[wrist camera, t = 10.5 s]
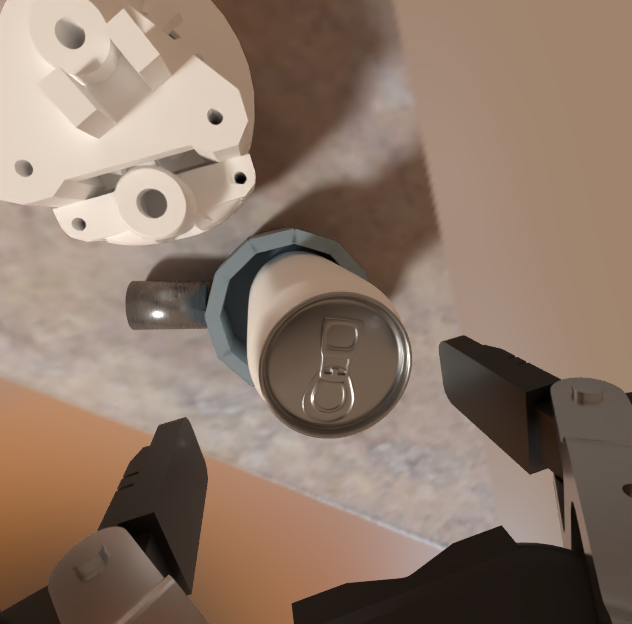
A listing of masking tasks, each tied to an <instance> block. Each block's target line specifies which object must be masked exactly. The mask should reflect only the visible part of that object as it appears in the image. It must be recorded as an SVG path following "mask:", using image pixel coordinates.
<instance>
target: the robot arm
mask: <svg viewBox="0 0 632 624" xmlns="http://www.w3.org/2000/svg"><path fill="white" fill-rule="evenodd" d="M439 355H440V363H441V370H442V378H443V385H444V390H445V393H446V395H447V397H448V399H449V400H450V402H451V403H452V404H453V405H454V406H455V407H456V408H457V409H458V410H459V411H460V412H461V413H462V414H464V415H465V416H466V417H467V418H468V419H469V420H470V421H471V422H472V423H473V424H475V425H476V426H477V427H478V428H479V429H480V430H481V431H482V432H483V433H485V434H486V435H487V436H488V437H489V438H490V439H491V440H492V441H493V442H494V443H496V444H497V445H498V446H499V447H500V448H501V449H502V450H503V451H504V452H506V453H507V454H508V455H509V456H510V457H511V458H512V459H513V460H514V461H516V462H517V463H518V464H519V465H520V466H521V467H522V468H523V469H524V470H525V471H527V472H528V473H529V474H533V473H536V472H539V471H541V470H544V469H547V468H549V469H550V470H551V471H552V472H553V483H554V490H555V497H556V502H557V509H558V515H559V522H560V528H561V534H562V540H563V547H564V548H562V547H558V546H553V545H547V544H539V543H516V542H515V541H514V540H513V539H512V537H511V536H510V535H509V534H508V533H507V531H506V530H505V529H504V528H503V527H502V525H501V526H498V527H496V528H493V529H490V530H488V531H485V532H482V533H480V534H477V535H474V536H472V537H469V538H466V539H464V540H461V541H458V542H456V543H453V544H452V545H450V546H449V547H447V548H446V549H445V550H443V551H442V552H441V553H439V554H438V555H437V556H436V557H434V558H433V559H432V560H430V561H429V562H428V563H426V564H425V565H423V566H422V567H421V568H420V569H418V570H417V571H416V572H414V573H413V574H411V575H410V576H408V577H405V578H399V579H388V580H377V581H367V582H366V581H365V582H354V583H346V584H343V585H340V586H337V587H335V588H332V589H330V590H327V591H324V592H321V593H319V594H316V595H313V596H311V597H308V598H305V599H302V600H300V601H297V602H294V603H292V611H293V619H294V624H632V392H630V393H624V391H623V390H622V389H620V388H619V387H617V386H615V385H613V384H611V383H608V382H605V381H601V380H597V379H592V378H568V379H563V380H561V379H559V378H557V377H555V376H553V375H551V374H549V373H548V372H546V371H543V370H542V369H540V368H538V367H536V366H534V365H532V364H530V363H526V361H524V360H522V359H520V358H518V357H515V356H514V355H512V354H511V353H509V352H507V351H505V350H503V349H499V348H496V347H491V346H487V345H481V344H480V343H478V342H476V341H474V340H472V339H470V338H468V337H467V336H464V335H463V336H459V337H456V338H452V339H449V340H446V341H442V342H440V344H439ZM207 482H208V475H207V468H206V464H205V460H204V457H203V455H202V452H201V450H200V447H199V444H198V442H197V439H196V436H195V434H194V431H193V429H192V426H191V424H190V422H189V420H188V419H187V418H186V417H184V418H181V419H178V420H174V421H171V422H168V423H164V424H161V425H159V426H158V428H157V430H156V433H155V435H154V437H153V440H152V442H151V445H150V446H147V447H144V448H142V450H141V451H140V452H139V453H138V454H137V455H136V456H135V457H134V458H133V459H132V460H131V461H130V463H129V465H128V467H127V469H126V471H125V474H124V476H123V479H122V480H121V482H120V484H119V486H118V488H117V489H118V491H116V493H115V495H114V497H113V499H112V501H111V503H110V506H109V507H108V509H107V511H106V514H105V516H104V518H103V520H102V522H101V524H100V526H99V529H98V531H97V532H95V533H93V534H91V535H89V536H88V537H86V538H85V539H83V540H82V541H80V542H79V543H78V544H76V545H75V546H74V547H73V548H72V549H70V550H69V551H68V552H67V553H66V554H65V555H64V557H63V558H62V559H61V560H60V561H59V562H58V564H57V565H56V567H55V568H54V570H53V571H52V573H51V575H50V578H49V581H48V585H47V586H46V587H44V588H42V589H41V590H39V591H37V592H35V593H34V594H32V595H30V596H28V597H27V598H25V599H23V600H21V601H20V602H18V603H16V604H14V605H13V606H11V607H9V608H7V609H6V610H4V611H1V610H0V624H210V623H209V622H208V621H207V619H206V618H205V617H204V616H203V615H202V613H201V612H200V611H199V610H198V609H197V607H196V606H195V605H194V604H193V602H192V601H191V600H190V599H189V598H188V596H187V595H190V594H192V587H193V580H194V573H195V567H196V560H197V552H198V546H199V539H200V532H201V525H202V518H203V511H204V504H205V497H206V490H207Z"/></svg>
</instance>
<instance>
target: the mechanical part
mask: <svg viewBox="0 0 632 624" xmlns="http://www.w3.org/2000/svg"><path fill="white" fill-rule="evenodd" d="M254 119H255V112H254V90H253V85H252V80H251V75H250V70H249V66H248V63H247V61H246V58H245V55H244V53H243V50H242V48H241V45H240V42H239V40H238V38H237V37H236V35H235V33H234V32H233V30H232V28H231V27H230V25H229V23H228V22H227V20H226V18H225V16H224V15H223V14H222V13H221V12H220V10H219V9H218V8H217V7H216V6H215V4H214V3H213V2H212V1H211V0H7V1H6V3H5V5H4V7H3V9H2V11H1V13H0V200H3V201H8V202H13V203H17V204H22V205H35V206H51V207H59V208H56V209H52V210H53V212H54V214H55V216H56V218H57V220H58V222H59V224H60V226H61V228H62V229H63V230H64V231H65V232H66V233H67V234H68V235H69V236H70V237H72V238H76V239H80V240H83V241H87V242H91V241H97V240H100V241H106V240H107V242H109V243H115V244H120V245H142V246H143V245H151V244H160V243H165V242H168V241H172V240H176V239H181V238H186V237H190V236H194V235H198V234H200V233H203V232H205V231H207V230H210V229H211V228H213V227H215V226H217V225H219V224H221V223H223V222H224V221H225V220H227V219H228V218H229V217H230V216H232V215H233V214H234V213H236V212H237V211H238V210H239V208H240V207H241V206H242V205H243V203H244V202H245V201H246V199H247V198H248V197H249V196H250V195H251V194H252V192H253V191H254V189H255V181H256V175H255V170H254V167H253V164H252V160H251V157H250V154H248V152H249V150H250V147H251V142H252V136H253V129H254V122H255V121H254Z"/></svg>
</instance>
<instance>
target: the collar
mask: <svg viewBox="0 0 632 624" xmlns="http://www.w3.org/2000/svg"><path fill="white" fill-rule="evenodd" d="M291 251H306V252H311V253H314V254H317V255H319V256H322V257H324V258H326V259H327V260H329V261H331V262H333V263H335V264H337V265H339V266H341V267H343V268H344V269H346V270H348V271H350V272H352V273H354V274H355V275H357V276H359V277H361V278H362V279H364V280H366V281H367V282H368V277H367V273H366V272H365V271H364V270H363V269H362V268H361V267H360V266H359V264H358V263H357V262H356V261H355V260H354V259H353V258H352V257H351V256H350V254H349V253H348V252H347V251H346V250H345V249H344V248H343V247H342V245H341V244H340V243H339V242H337V241H334V240H331V239H328V238H324V237H321V236H318V235H315V234H311V233H308V232H305V231H302V230H298V229H295V228H291V227H286V228H282V229H278V230H273V231H268V232H264V233H261V234H258V235H254V236H250V238H249V237H248V238H247V239H246V240H245V241H244V242H243V243H242V244H241V245H240V246H239V247H238V248H237V249H236V250H235V251H234V252H233V253H232V254H231V255H230V256H229V257H228V258H227V259H226V260H225V261H224V262H223V263H222V264H221V265H220V267H219V268H218V270H217V271H216V273H215V275H214V279H213V283H212V288H211V292H210V296H209V300H208V304H207V308H206V313H205V321H206V324H207V326H208V329H209V332H210V335H211V338H212V341H213V344H214V347H215V350H216V353H217V356H218V358H219V360H221V361H222V362H223V363H224V364H225V365H227V366H228V367H229V368H230V369H231V370H232V371H234V372H235V373H236V374H237V375H238V376H240V377H241V378H242V379H243V380H244V381H245V382H247V383H248V384H249V385H251V386H254V387H255V385H254V383H253V381H252V378H251V375H250V371H249V367H248V360H247V326H248V305H249V294H250V289H251V285H252V282H253V280H254V278H255V276H256V274H257V273H258V271H259V270H260V269H261V268H262V266H263V265H264V264H266V263H267V262H268V261H269V260H271V259H272V258H274V257H276V256H278V255H280V254H283V253H286V252H291Z"/></svg>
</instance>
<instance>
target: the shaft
mask: <svg viewBox="0 0 632 624" xmlns="http://www.w3.org/2000/svg"><path fill="white" fill-rule="evenodd" d="M209 296H210V285H209V282H208V281H132V282H131V283H130V284H129V286H128V289H127V293H126V315H127V320H128V323H129V326H130V327H131V328H132V329H133V330H151V329H204V328H208V326H207V324H206V321H205V313H206V308H207V304H208V300H209Z"/></svg>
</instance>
